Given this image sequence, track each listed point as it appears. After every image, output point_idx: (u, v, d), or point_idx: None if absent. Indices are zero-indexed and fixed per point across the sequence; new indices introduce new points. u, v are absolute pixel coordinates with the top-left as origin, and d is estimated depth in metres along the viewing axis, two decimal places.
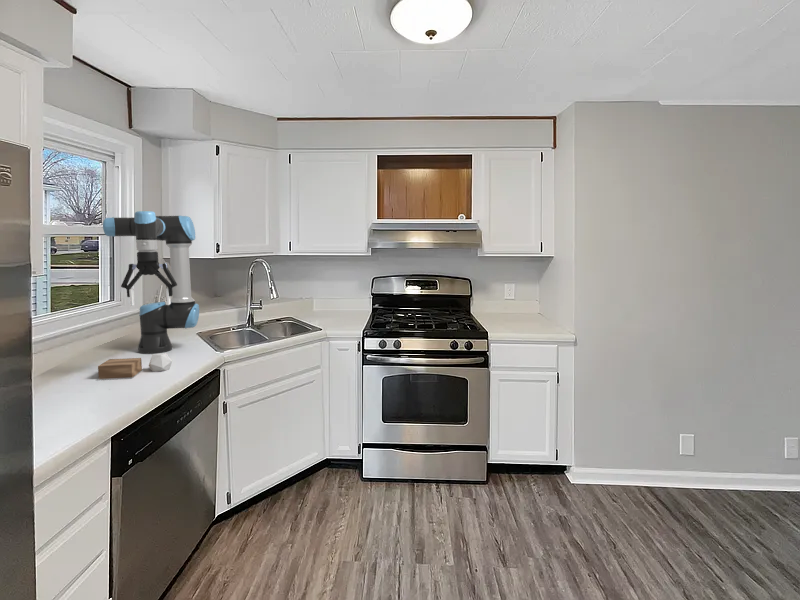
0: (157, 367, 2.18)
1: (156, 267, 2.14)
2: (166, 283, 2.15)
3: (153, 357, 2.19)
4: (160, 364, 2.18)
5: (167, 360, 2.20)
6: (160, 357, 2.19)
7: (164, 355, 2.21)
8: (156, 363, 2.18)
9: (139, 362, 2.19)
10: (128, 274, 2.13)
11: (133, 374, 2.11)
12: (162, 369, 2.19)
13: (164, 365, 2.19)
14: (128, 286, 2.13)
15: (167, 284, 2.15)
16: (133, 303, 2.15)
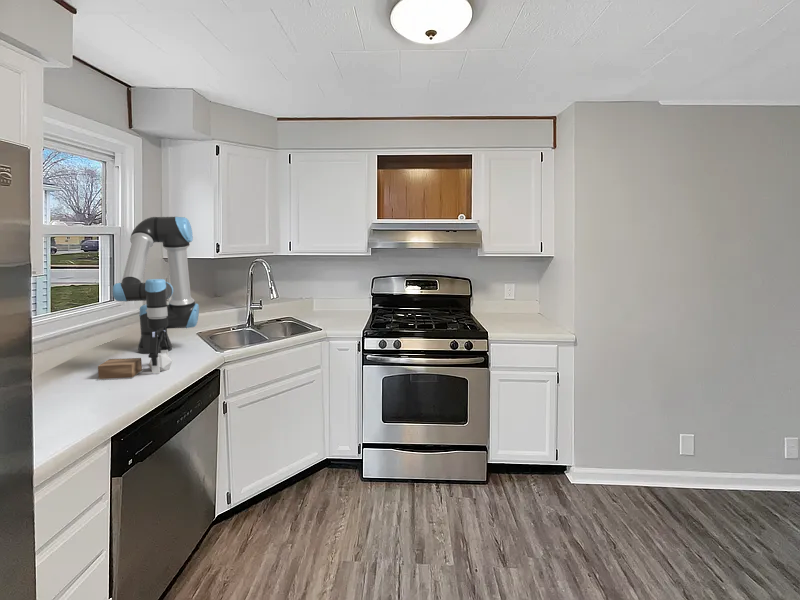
0: None
1: None
2: None
3: None
4: (160, 364, 2.18)
5: (167, 360, 2.20)
6: (160, 357, 2.19)
7: (164, 355, 2.21)
8: None
9: (139, 362, 2.19)
10: None
11: (133, 374, 2.11)
12: (162, 369, 2.19)
13: (164, 365, 2.19)
14: None
15: None
16: None
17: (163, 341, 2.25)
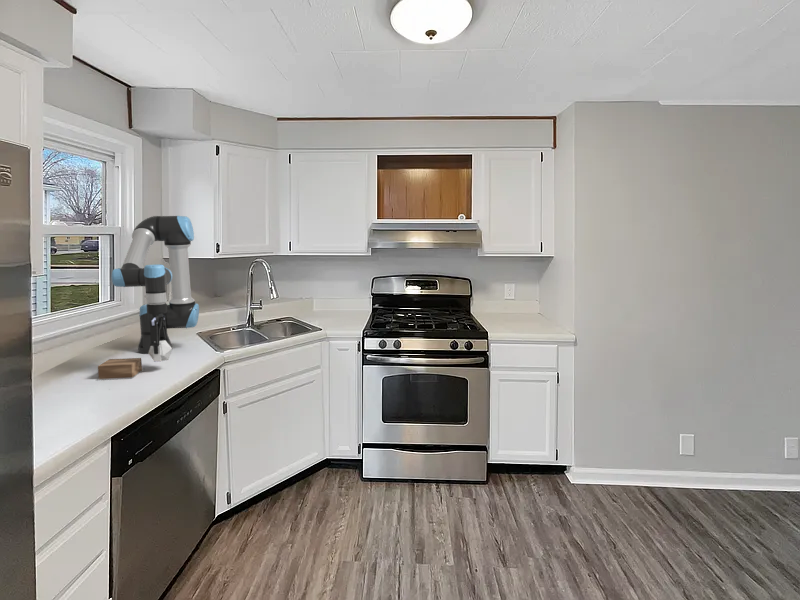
0: None
1: None
2: None
3: None
4: None
5: (167, 347, 2.20)
6: (160, 345, 2.18)
7: (164, 342, 2.20)
8: None
9: (139, 362, 2.19)
10: None
11: (133, 374, 2.11)
12: (162, 357, 2.19)
13: (164, 353, 2.18)
14: None
15: None
16: None
17: (161, 329, 2.23)
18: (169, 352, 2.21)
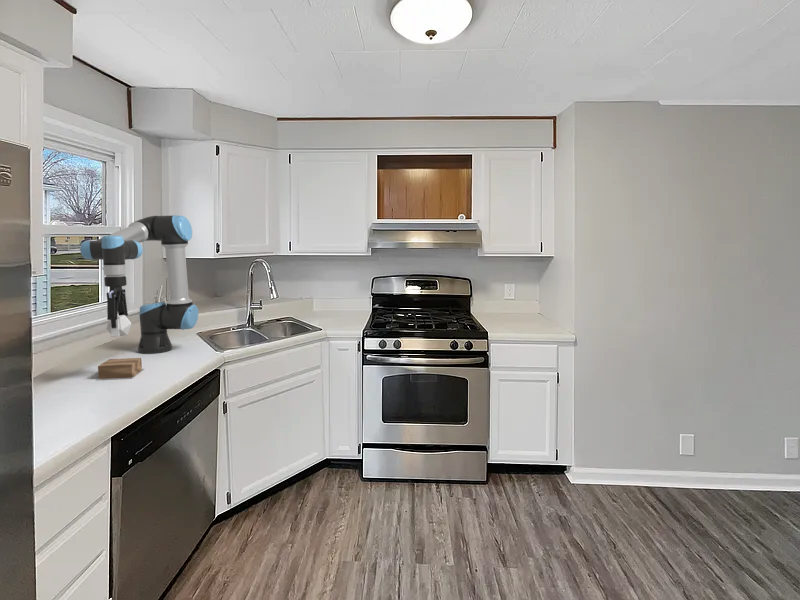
0: None
1: None
2: None
3: None
4: (119, 326, 2.09)
5: (126, 322, 2.12)
6: (118, 319, 2.10)
7: (122, 317, 2.12)
8: None
9: (139, 362, 2.19)
10: None
11: (133, 374, 2.11)
12: (121, 331, 2.10)
13: (123, 327, 2.10)
14: None
15: None
16: None
17: (121, 303, 2.14)
18: (128, 327, 2.12)
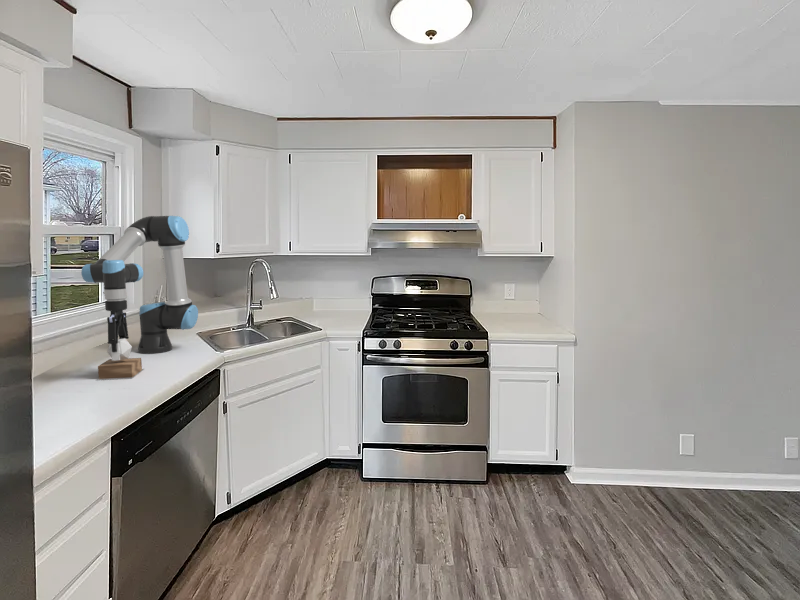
0: None
1: None
2: None
3: None
4: (119, 350, 2.10)
5: (127, 346, 2.12)
6: (119, 343, 2.10)
7: (123, 340, 2.13)
8: None
9: (139, 362, 2.19)
10: None
11: (133, 374, 2.11)
12: (121, 355, 2.11)
13: (123, 351, 2.11)
14: None
15: None
16: None
17: (121, 327, 2.15)
18: (129, 350, 2.13)
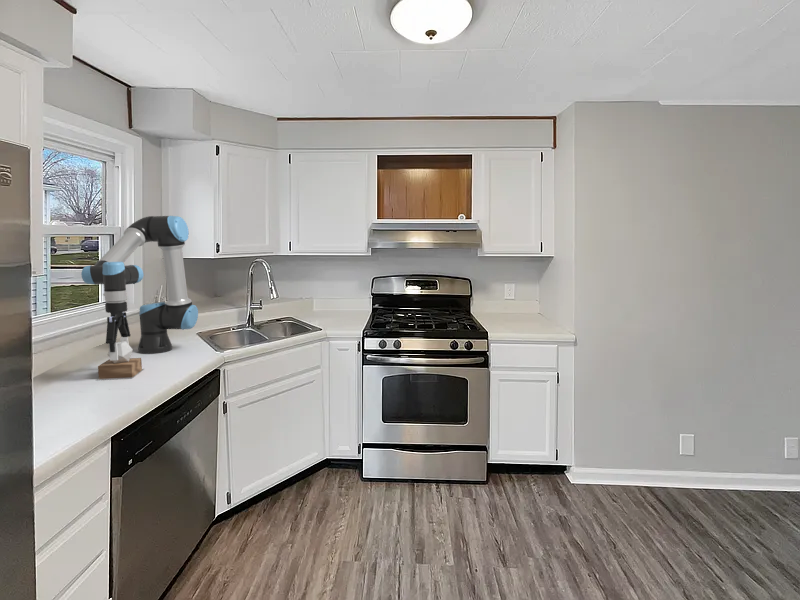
0: None
1: None
2: None
3: None
4: (120, 353, 2.10)
5: (127, 348, 2.13)
6: (120, 345, 2.11)
7: (124, 343, 2.13)
8: None
9: (139, 362, 2.19)
10: None
11: (133, 374, 2.11)
12: (122, 358, 2.11)
13: (124, 354, 2.11)
14: None
15: None
16: None
17: (122, 327, 2.17)
18: (129, 353, 2.14)
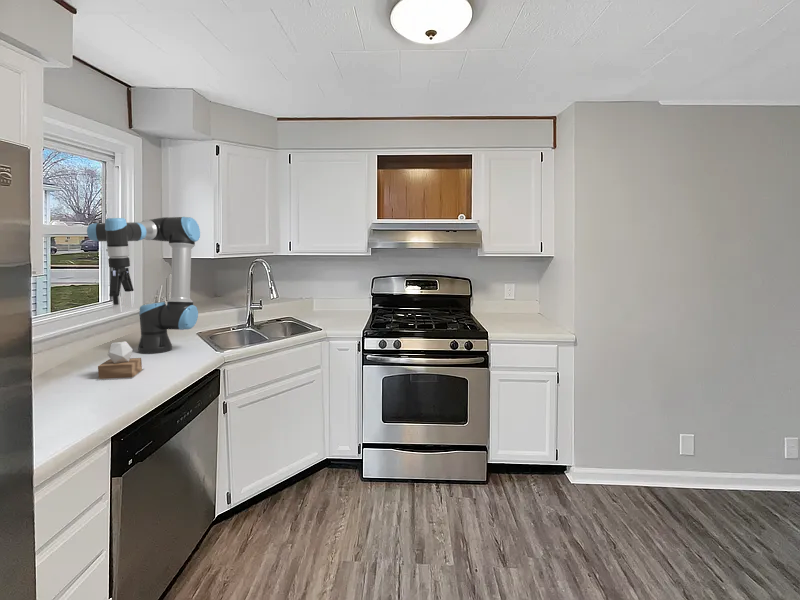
0: (117, 356, 2.10)
1: None
2: None
3: (112, 346, 2.12)
4: (120, 353, 2.10)
5: (127, 348, 2.13)
6: (120, 345, 2.11)
7: (124, 343, 2.13)
8: (115, 352, 2.10)
9: (139, 362, 2.19)
10: None
11: (133, 374, 2.11)
12: (122, 358, 2.11)
13: (124, 354, 2.11)
14: None
15: None
16: (128, 305, 2.27)
17: (126, 282, 2.23)
18: (129, 353, 2.14)
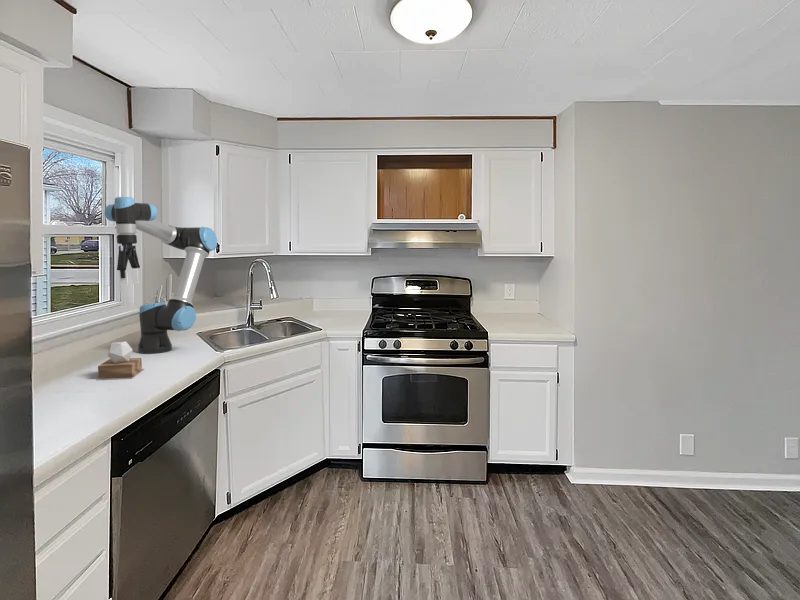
0: (117, 356, 2.10)
1: None
2: None
3: (112, 346, 2.12)
4: (120, 353, 2.10)
5: (127, 348, 2.13)
6: (120, 345, 2.11)
7: (124, 343, 2.13)
8: (115, 352, 2.10)
9: (139, 362, 2.19)
10: None
11: (133, 374, 2.11)
12: (122, 358, 2.11)
13: (124, 354, 2.11)
14: None
15: None
16: (134, 281, 2.39)
17: (132, 259, 2.35)
18: (129, 353, 2.14)
